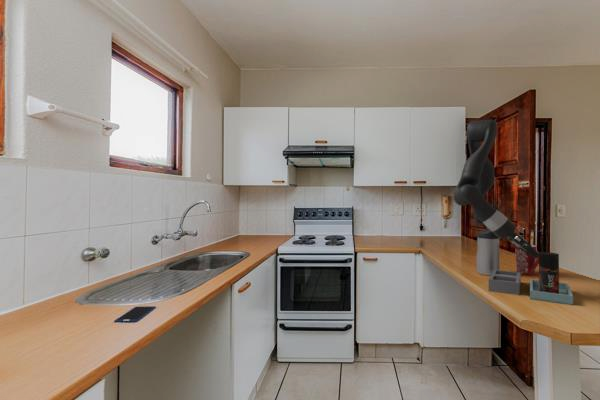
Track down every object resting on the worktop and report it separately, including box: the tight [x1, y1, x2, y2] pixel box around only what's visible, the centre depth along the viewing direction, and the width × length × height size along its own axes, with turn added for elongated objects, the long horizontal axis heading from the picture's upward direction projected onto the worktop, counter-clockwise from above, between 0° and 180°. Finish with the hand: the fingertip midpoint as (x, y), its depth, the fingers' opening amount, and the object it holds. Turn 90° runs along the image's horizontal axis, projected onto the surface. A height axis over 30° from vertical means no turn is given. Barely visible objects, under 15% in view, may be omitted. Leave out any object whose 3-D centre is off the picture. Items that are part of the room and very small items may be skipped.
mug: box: [513, 244, 539, 276], centre depth 155 cm, size 13×9×14 cm
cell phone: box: [113, 305, 157, 324], centre depth 105 cm, size 7×14×1 cm, turn 0°
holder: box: [488, 269, 522, 296], centre depth 134 cm, size 21×10×4 cm, turn 144°
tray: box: [529, 278, 574, 306], centre depth 122 cm, size 20×12×3 cm, turn 144°
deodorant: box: [538, 251, 560, 294], centre depth 122 cm, size 6×6×15 cm
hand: (533, 254), depth 124 cm, fingers open, 8 cm apart
